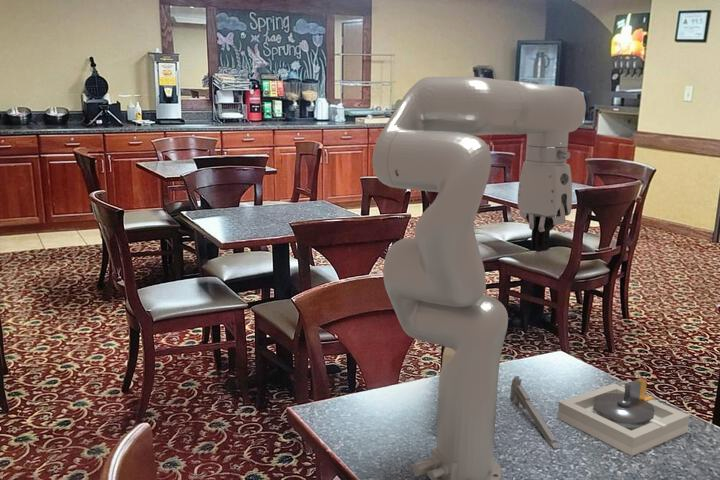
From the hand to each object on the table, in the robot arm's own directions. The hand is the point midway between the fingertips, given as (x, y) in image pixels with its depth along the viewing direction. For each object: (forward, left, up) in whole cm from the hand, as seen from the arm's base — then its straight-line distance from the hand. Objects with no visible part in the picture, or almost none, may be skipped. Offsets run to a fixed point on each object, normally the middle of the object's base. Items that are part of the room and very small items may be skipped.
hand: (539, 250), depth 135 cm
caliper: (-4, -5, -34) cm, 34 cm away
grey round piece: (+10, -15, -31) cm, 36 cm away
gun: (-14, +8, -33) cm, 37 cm away
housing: (+10, -15, -33) cm, 38 cm away
